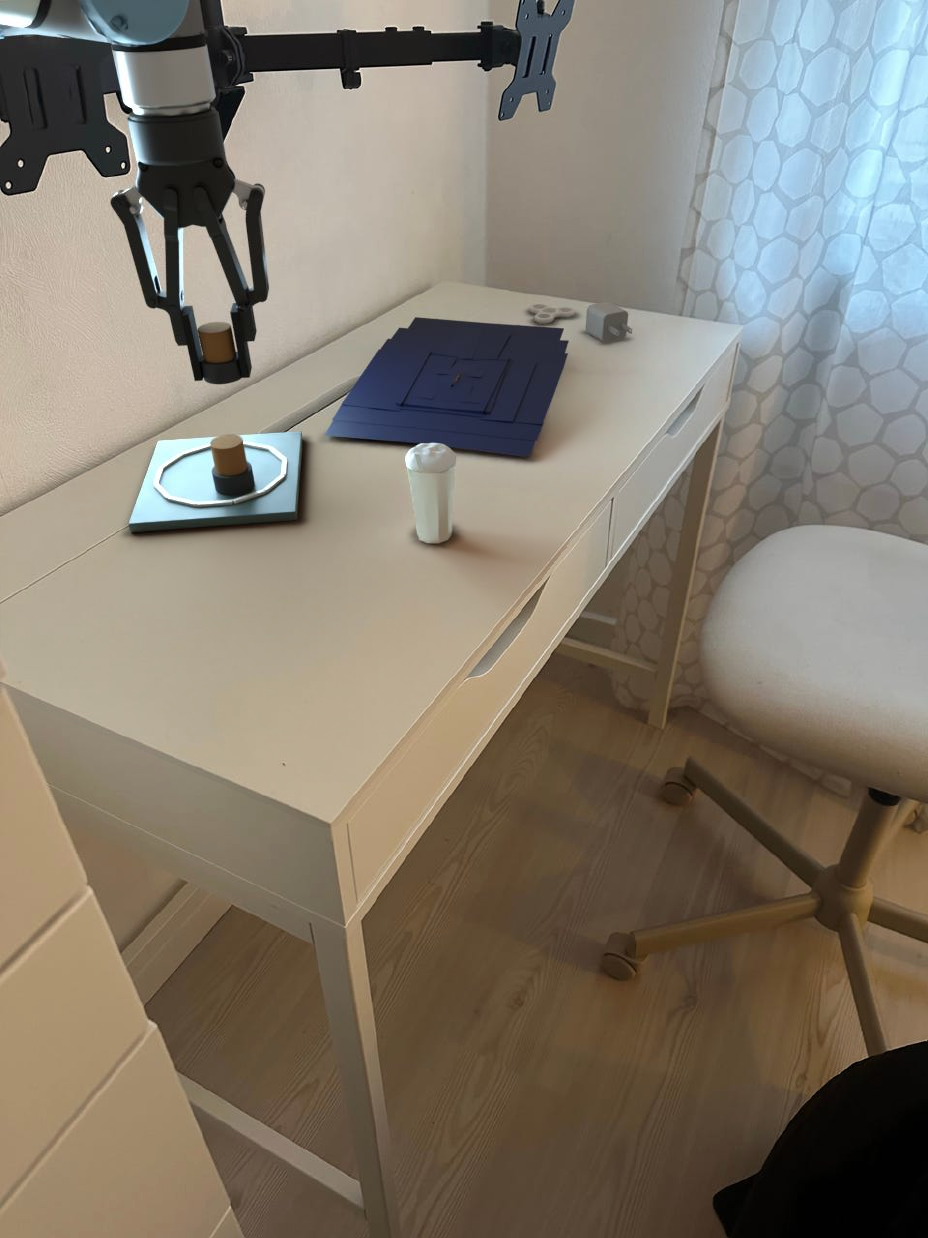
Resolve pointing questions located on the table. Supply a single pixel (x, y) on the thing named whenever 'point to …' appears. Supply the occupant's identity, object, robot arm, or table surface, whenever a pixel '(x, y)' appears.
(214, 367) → the stamp
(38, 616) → the table surface
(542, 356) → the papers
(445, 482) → the milkshake
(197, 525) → the slate board
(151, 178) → the robot arm
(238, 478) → the stamp
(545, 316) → the fidget spinner
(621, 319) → the usb wall charger
